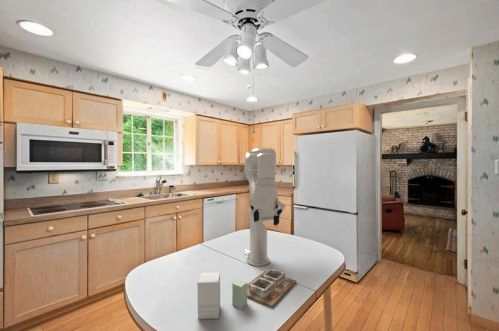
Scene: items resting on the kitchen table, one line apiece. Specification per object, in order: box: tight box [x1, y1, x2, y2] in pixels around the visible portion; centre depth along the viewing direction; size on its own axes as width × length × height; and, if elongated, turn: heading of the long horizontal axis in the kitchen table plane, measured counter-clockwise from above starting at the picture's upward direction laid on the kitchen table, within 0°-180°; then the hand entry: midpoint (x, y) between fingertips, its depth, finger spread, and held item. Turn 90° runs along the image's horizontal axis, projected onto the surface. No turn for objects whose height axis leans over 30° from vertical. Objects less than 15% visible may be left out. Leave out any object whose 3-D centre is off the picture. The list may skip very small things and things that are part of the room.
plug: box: [231, 279, 248, 310], centre depth 85 cm, size 4×4×8 cm
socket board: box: [247, 268, 297, 309], centre depth 96 cm, size 16×22×4 cm
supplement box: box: [197, 271, 221, 320], centre depth 80 cm, size 7×7×13 cm
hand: (266, 222), depth 94 cm, fingers open, 9 cm apart
